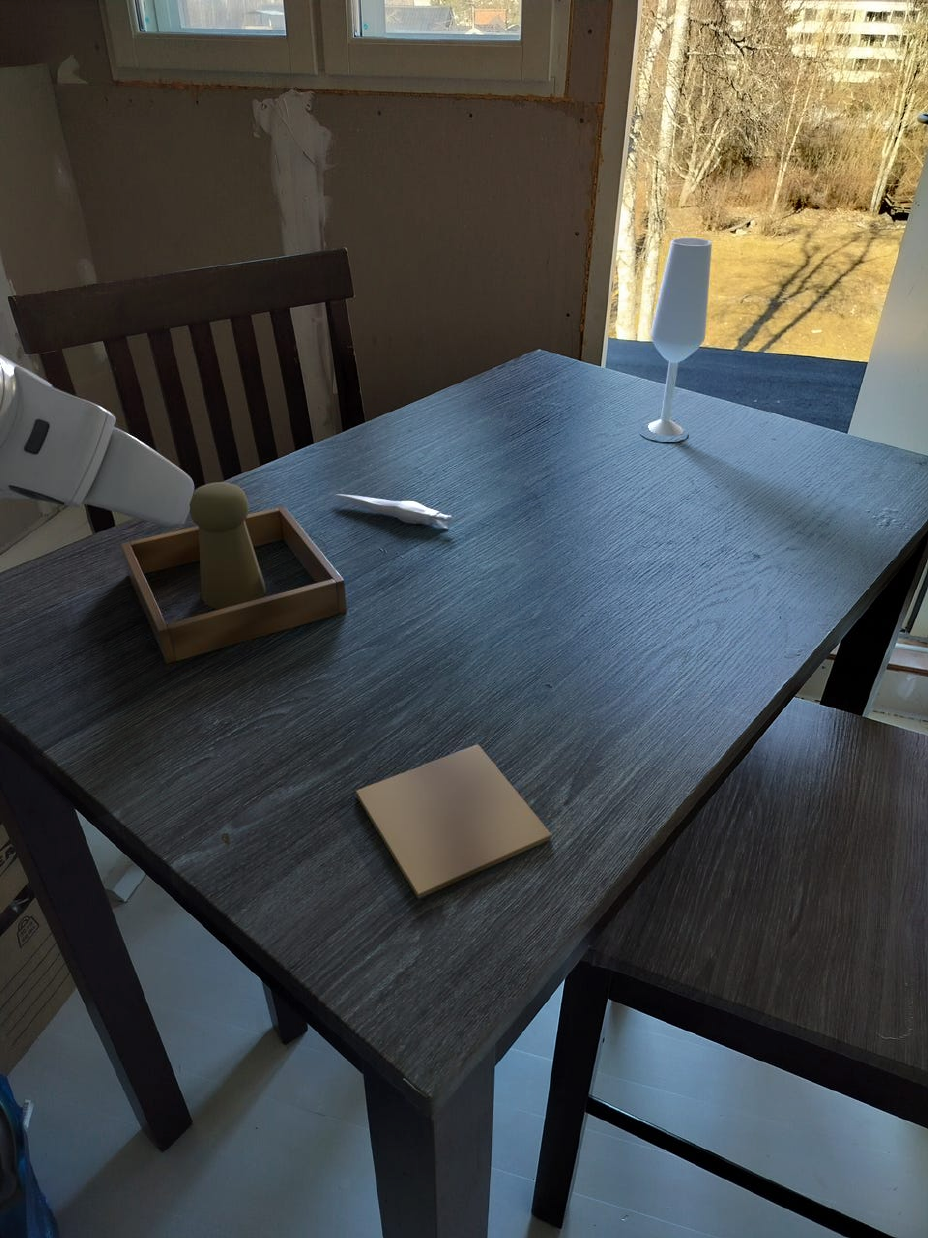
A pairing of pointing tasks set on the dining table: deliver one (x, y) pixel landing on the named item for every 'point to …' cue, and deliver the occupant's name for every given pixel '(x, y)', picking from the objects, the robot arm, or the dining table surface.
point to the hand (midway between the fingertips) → (136, 500)
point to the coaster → (451, 819)
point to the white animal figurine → (400, 510)
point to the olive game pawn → (225, 546)
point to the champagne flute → (680, 315)
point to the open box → (241, 618)
